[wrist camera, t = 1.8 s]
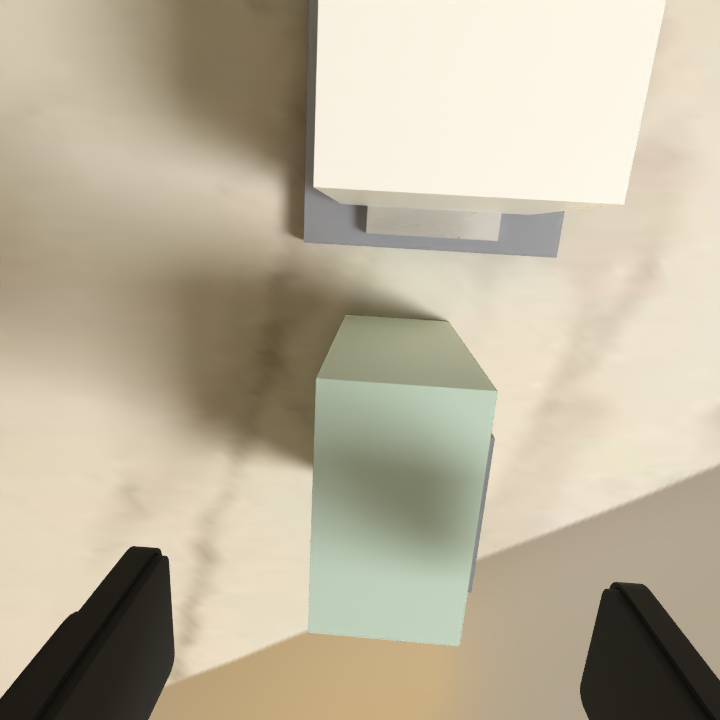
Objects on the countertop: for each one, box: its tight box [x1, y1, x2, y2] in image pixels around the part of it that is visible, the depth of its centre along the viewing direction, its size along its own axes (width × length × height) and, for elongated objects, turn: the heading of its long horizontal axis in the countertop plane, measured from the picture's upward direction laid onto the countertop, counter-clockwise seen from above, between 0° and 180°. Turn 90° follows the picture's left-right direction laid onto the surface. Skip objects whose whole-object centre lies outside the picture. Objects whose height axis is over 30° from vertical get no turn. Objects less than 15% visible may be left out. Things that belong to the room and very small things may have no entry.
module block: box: [308, 315, 498, 646], centre depth 17 cm, size 5×8×9 cm, turn 177°
